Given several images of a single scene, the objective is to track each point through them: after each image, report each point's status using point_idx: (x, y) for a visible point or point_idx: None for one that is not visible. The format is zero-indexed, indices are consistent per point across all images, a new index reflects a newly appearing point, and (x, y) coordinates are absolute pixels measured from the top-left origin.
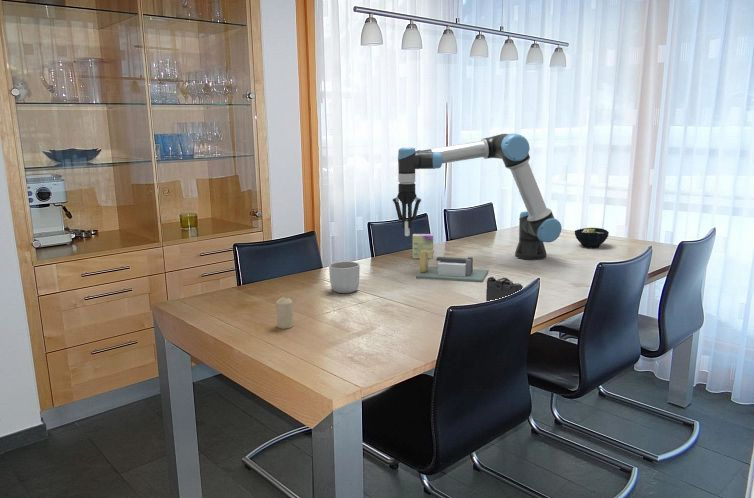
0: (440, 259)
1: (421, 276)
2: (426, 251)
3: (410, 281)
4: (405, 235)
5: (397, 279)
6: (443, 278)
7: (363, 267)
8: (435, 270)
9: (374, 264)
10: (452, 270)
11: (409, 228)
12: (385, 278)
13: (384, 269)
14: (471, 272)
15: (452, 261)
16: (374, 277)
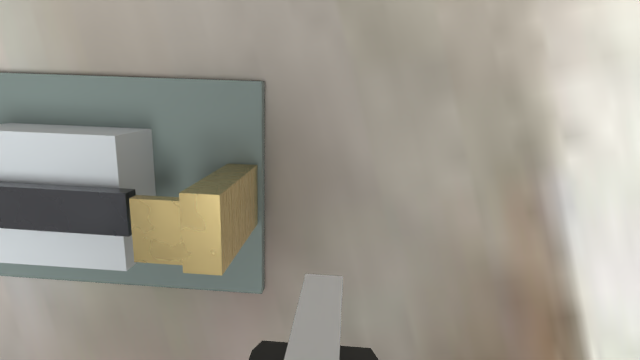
0: (102, 189)
1: (228, 80)
2: (177, 221)
3: (275, 4)
4: (334, 278)
5: (358, 33)
6: (109, 76)
7: (615, 266)
8: None
9: (560, 338)
10: (52, 127)
11: (276, 343)
12: (433, 41)
13: (481, 241)
14: None
15: (34, 184)
16: (504, 50)
